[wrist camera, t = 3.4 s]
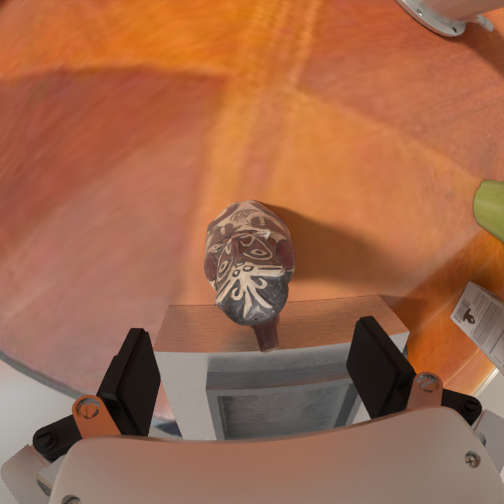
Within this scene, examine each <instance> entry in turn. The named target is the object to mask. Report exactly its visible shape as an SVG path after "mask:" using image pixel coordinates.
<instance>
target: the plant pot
mask: <svg viewBox="0 0 504 504" xmlns="http://www.w3.org/2000/svg"><path fill="white" fill-rule="evenodd" d="M473 211H474V216H475V218H476V220H477V223H478V225H479V226H481V227H482V228H484V229H485V230H487V231H488V232H489V233H491V234H492V235H494V236H495V237H496V238H498V239H499V240H500V241H502V242H503V243H504V181H494V180H485V181H483V182H482V183H481V186H480V188H479V189H478V190H477V191H476V193H475V197H474V204H473Z"/></svg>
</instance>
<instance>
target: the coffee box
mask: <svg viewBox="0 0 504 504" xmlns="http://www.w3.org/2000/svg"><path fill="white" fill-rule="evenodd" d="M450 319H451V320H452V321H453V322H454V323H455V324H456V325H457V326H458V327H459V328H460V329H461V330H462V331H463V332H464V333H465V334H466V335H467V336H468V337H469V338H470V339H471V340H472V341H473V342H474V343H475V344H476V345H477V346H478V347H479V348H480V349H481V350H482V352H483V353H484V354H485V355H486V356H487V357H488V358H489V359H490V361H491V362H492V363H493V364H494V365H495V366H496V367H497V369H498V370H499V371H500V372H501V373H502V374H503V376H504V300H503V299H501V298H500V297H499V296H497V295H496V294H495V293H493V292H491V291H489V290H487V289H485V288H483V287H481V286H479V285H477V284H475V283H473V282H471V281H469V282H468V284H467V286H466V288H465V290H464V292H463V294H462V296H461V298H460V300H459V302H458V303H457V305H456V307H455V309H454V311H453V313H452V314H451V316H450Z"/></svg>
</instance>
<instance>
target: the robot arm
mask: <svg viewBox="0 0 504 504" xmlns="http://www.w3.org/2000/svg"><path fill="white" fill-rule="evenodd" d="M396 1H397V2H398V3H399V4H400V5H401V6H402V7H403V8H404V9H405V10H406V11H407V12H408V13H409V14H410V15H411V16H412V17H413V18H415V19H416V20H417V21H418V22H420V23H421V24H422V25H424V26H425V27H427V28H428V29H430V30H432V31H433V32H435V33H437V34H440V35H442V36H446V37H455V36H458V35H461V34H462V33H463V32H464V31H465V29H466V23H467V22H471V23H477V24H478V25H479V26H480V27H481V28H483V29H484V30H485V31H487V32H491V31H492V30H493V24H492V23H491V22H490V21H489V20H488V19H486V18H485V17H484V16H482V15H480V14H483V13H486V12H489V11H493V10H496V9H500V8H504V0H396ZM346 368H347V371H348V373H349V375H350V377H351V379H352V381H353V383H354V385H355V387H356V389H357V392H358V394H359V396H360V398H361V400H362V402H363V404H364V406H365V408H366V410H367V412H368V414H369V416H370V419H371V420H367V421H363V422H359V423H355V424H351V425H346V426H342V427H337V428H332V429H327V430H322V431H316V432H310V433H303V434H296V435H289V436H280V437H270V438H259V439H242V440H187V439H168V438H155V437H148V433H149V428H150V424H151V420H152V415H153V411H154V406H155V402H156V398H157V394H158V390H159V386H160V381H161V375H160V372H159V368H158V365H157V362H156V358H155V355H154V351H153V348H152V344H151V340H150V337H149V333H148V332H145V330H144V329H143V328H131V329H130V331H129V333H128V335H127V337H126V339H125V341H124V343H123V345H122V347H121V349H120V351H119V353H118V355H116V356H114V358H113V359H112V361H111V364H110V366H109V368H108V370H107V372H106V374H105V376H104V378H103V381H102V383H101V385H100V387H99V390H98V392H97V394H96V396H94V395H86V396H82V397H81V398H79V399H77V400H76V401H75V403H74V404H73V407H72V413H73V414H72V415H70V416H68V417H65V418H63V419H61V420H59V421H57V422H54V423H52V424H50V425H47V426H45V427H42V428H40V429H39V430H37V431H36V433H35V434H34V436H33V444H32V445H31V446H29V445H28V444H27V445H26V446H25V447H24V448H23V449H21V450H20V451H19V452H18V453H16V454H15V455H14V456H13V457H12V458H10V459H9V460H8V461H7V462H5V463H4V464H3V466H2V468H1V476H2V478H3V480H4V482H5V483H6V485H7V487H8V488H9V490H10V491H11V493H12V494H13V496H14V497H15V498H16V500H17V501H18V502H19V504H504V484H503V481H502V479H501V477H500V475H499V474H500V472H501V470H502V468H503V466H504V419H503V418H501V417H500V416H498V415H496V414H494V413H492V412H491V411H489V410H487V409H485V410H484V411H483V410H482V406H481V404H480V402H479V401H478V400H477V399H476V398H475V397H472V396H469V395H465V394H462V393H458V392H454V391H451V390H447V389H444V388H443V383H442V380H441V379H440V378H439V377H438V376H437V375H435V374H433V373H431V372H421V373H419V374H416V373H415V371H414V369H413V367H412V366H411V365H410V363H409V362H408V361H407V359H406V358H405V357H404V355H403V354H402V353H401V351H400V350H399V349H398V347H397V346H396V345H395V343H394V342H393V341H392V340H391V338H390V337H389V336H388V334H387V333H386V332H385V331H384V329H383V328H382V327H381V326H380V324H379V323H378V322H377V321H376V319H375V318H374V317H373V316H365V317H360V319H359V320H358V321H356V324H355V329H354V333H353V338H352V342H351V346H350V350H349V354H348V358H347V362H346Z"/></svg>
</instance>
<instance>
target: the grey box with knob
mask: <svg viewBox="0 0 504 504" xmlns="http://www.w3.org/2000/svg"><path fill="white" fill-rule="evenodd" d="M365 316H373V317H374V318H375V319H376V321H377V322H378V323H379V324H380V326H381V327H382V328H383V329H384V331H385V332H386V333H387V334H388V336H389V337H390V338H391V340H392V341H393V342H394V343H395V345H396V346H397V347H398V349H399V350H400V351H401V353H402V354H403V355H404V357H405V358H406V359H407V355H408V350H407V346H406V341H407V338H408V336H409V333H410V331H409V330H408V329H407V328H406V326H405V325H404V324H403V323H402V322H401V320H400V319H399V318H398V317H397V316H396V314H395V313H394V312H393V311H392V310H391V309H390V308H389V306H388V305H387V304H386V303H385V302H384V301H383V299H382V298H381V297H380V296H379V295H371V296H361V297H351V298H340V299H328V300H315V301H300V302H286V303H285V305H284V307H283V309H282V310H281V312H280V313H279V317H280V321H279V324H278V325H277V334H278V340H279V347H278V349H275V350H273V351H270V352H268V353H262V352H261V351H260V348H259V345H258V341H257V338H256V335H255V332H254V330H253V329H252V328H251V326H244V325H239V324H237V323H235V322H233V321H232V320H231V319H230V318H228V317H227V315H226V314H225V313H224V312H223V311H222V310H221V309H220V308H219V307H218V306H217V305H199V306H168V309H167V312H166V314H165V317H164V320H163V322H162V325H161V328H160V331H159V333H158V336H157V339H156V342H155V345H154V347H153V351H154V355H155V358H156V362H157V365H158V368H159V372H160V375H161V381H162V384H163V387H164V390H165V393H166V395H167V398H168V401H169V404H170V406H171V409H172V412H173V414H174V417H175V419H176V422H177V424H178V427H179V429H180V431H181V434H182V436H183V438H184V439H187V440H242V439H259V438H270V437H280V436H289V435H296V434H303V433H310V432H316V431H322V430H327V429H332V428H337V427H342V426H346V425H351V424H355V423H359V422H363V421H367V420H371V419H370V416H369V414H368V412H367V410H366V408H365V406H364V404H363V402H362V400H361V398H360V396H359V394H358V392H357V389H356V387H355V385H354V383H353V381H352V379H351V377H350V375H349V373H348V371H347V368H346V362H347V358H348V354H349V350H350V346H351V342H352V338H353V333H354V329H355V324H356V321H358V320H359V319H360V317H365Z"/></svg>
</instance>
